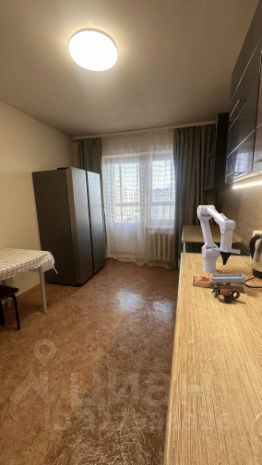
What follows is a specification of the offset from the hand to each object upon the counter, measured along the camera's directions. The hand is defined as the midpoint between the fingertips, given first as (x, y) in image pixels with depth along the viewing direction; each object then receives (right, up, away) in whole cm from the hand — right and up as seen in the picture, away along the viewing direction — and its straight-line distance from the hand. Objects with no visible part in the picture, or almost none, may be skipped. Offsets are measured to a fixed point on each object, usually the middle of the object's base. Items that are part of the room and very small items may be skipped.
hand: (224, 264), depth 115 cm
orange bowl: (-14, -10, -4) cm, 17 cm away
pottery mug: (-9, -14, -19) cm, 26 cm away
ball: (-15, -8, -4) cm, 18 cm away
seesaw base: (-6, -11, -4) cm, 13 cm away
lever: (0, -8, -5) cm, 9 cm away
